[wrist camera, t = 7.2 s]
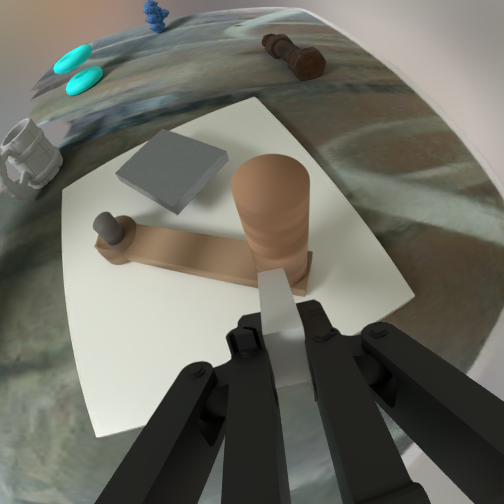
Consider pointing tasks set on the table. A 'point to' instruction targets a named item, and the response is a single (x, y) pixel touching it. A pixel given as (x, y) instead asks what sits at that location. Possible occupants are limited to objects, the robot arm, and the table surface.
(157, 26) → the blue knobby flower
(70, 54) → the donuts
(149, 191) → the block
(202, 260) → the link
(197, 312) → the base plate
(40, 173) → the mug
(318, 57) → the bolt
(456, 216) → the table surface
